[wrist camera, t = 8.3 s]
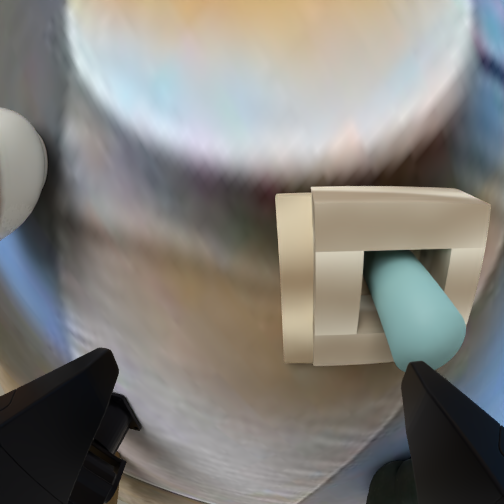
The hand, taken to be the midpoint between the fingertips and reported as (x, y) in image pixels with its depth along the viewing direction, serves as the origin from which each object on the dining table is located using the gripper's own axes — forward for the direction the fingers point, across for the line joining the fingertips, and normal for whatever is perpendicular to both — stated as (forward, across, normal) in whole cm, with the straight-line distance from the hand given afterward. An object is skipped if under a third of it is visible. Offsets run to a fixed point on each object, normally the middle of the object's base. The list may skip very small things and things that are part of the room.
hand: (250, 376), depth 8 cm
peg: (+10, -7, +1) cm, 12 cm away
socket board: (+11, -6, +3) cm, 13 cm away
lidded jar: (+12, +21, -7) cm, 25 cm away
